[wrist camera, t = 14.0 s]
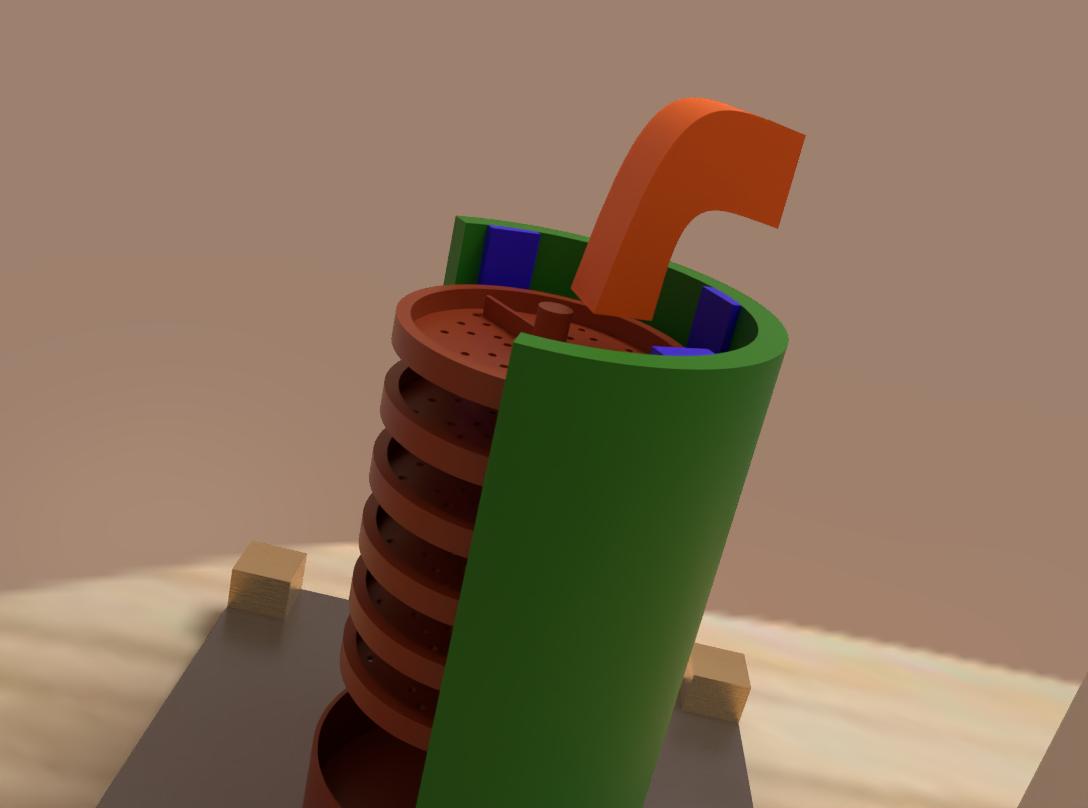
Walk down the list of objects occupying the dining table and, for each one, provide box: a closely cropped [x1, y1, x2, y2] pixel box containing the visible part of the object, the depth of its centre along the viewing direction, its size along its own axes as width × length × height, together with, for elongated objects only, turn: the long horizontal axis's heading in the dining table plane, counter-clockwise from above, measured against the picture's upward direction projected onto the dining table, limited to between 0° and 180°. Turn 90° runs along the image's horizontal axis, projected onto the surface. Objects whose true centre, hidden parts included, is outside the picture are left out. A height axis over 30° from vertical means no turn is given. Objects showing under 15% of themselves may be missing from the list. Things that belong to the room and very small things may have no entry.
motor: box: [302, 98, 805, 808], centre depth 25 cm, size 10×9×20 cm
